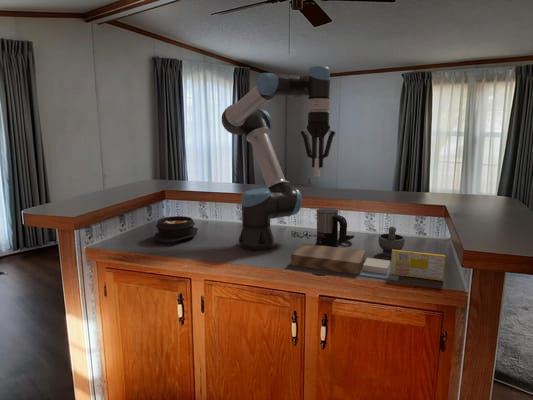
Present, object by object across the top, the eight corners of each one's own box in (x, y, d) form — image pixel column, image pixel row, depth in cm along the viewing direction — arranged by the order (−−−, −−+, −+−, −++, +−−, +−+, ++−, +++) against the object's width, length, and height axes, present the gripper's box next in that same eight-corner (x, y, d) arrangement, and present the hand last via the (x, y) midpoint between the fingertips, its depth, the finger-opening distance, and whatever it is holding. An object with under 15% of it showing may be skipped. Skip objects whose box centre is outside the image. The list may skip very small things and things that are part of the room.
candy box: (442, 279, 123) (445, 254, 121) (443, 281, 121) (446, 256, 119) (389, 272, 128) (392, 248, 126) (389, 274, 126) (392, 250, 124)
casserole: (180, 248, 156) (179, 228, 155) (141, 244, 162) (140, 225, 160) (207, 232, 180) (206, 215, 178) (172, 229, 185) (171, 212, 184)
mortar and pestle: (378, 249, 154) (380, 220, 151) (403, 251, 151) (405, 221, 149) (377, 258, 143) (379, 227, 141) (403, 260, 140) (405, 229, 138)
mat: (359, 275, 126) (359, 274, 126) (366, 260, 141) (366, 259, 141) (398, 280, 122) (398, 279, 122) (400, 264, 136) (401, 263, 136)
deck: (291, 265, 136) (291, 254, 135) (302, 253, 149) (302, 243, 148) (359, 274, 127) (359, 263, 127) (365, 261, 140) (365, 250, 139)
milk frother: (311, 246, 158) (312, 211, 155) (325, 236, 171) (326, 204, 169) (345, 251, 151) (346, 215, 148) (357, 241, 164) (358, 207, 162)
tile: (362, 270, 130) (363, 265, 129) (366, 263, 137) (367, 257, 136) (387, 274, 126) (387, 268, 126) (390, 266, 134) (390, 260, 133)
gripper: (298, 111, 137) (297, 176, 141) (334, 110, 132) (332, 178, 136) (304, 112, 144) (303, 174, 148) (338, 111, 139) (336, 175, 143)
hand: (317, 176), depth 142 cm, fingers closed
